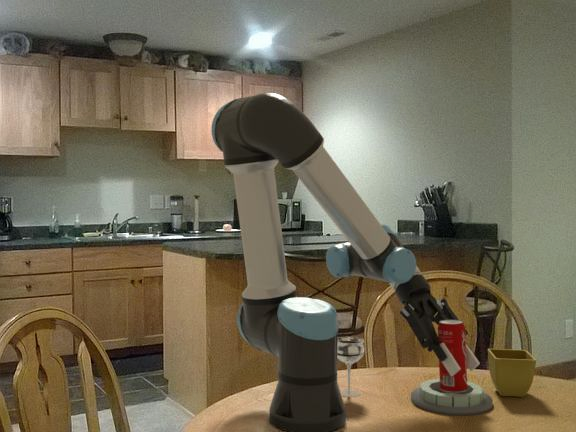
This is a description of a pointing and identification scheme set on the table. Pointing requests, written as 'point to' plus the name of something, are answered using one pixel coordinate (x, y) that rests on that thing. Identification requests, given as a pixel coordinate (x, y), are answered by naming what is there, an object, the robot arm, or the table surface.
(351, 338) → the wineglass
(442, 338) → the beverage can
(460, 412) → the can tray
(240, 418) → the table surface
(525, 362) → the flower pot
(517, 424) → the table surface
